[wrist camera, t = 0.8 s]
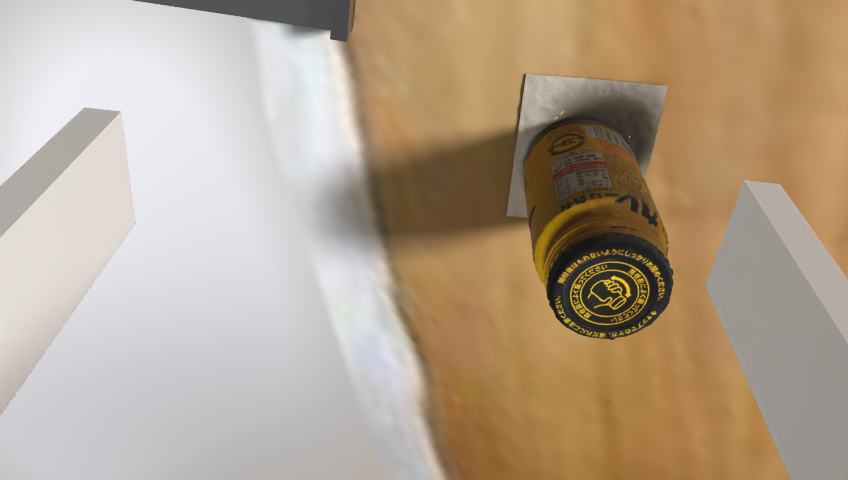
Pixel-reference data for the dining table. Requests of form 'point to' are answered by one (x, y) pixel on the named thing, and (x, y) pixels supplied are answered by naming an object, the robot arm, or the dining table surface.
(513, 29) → the dining table surface
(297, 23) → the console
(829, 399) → the robot arm
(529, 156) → the condiment
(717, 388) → the dining table surface
